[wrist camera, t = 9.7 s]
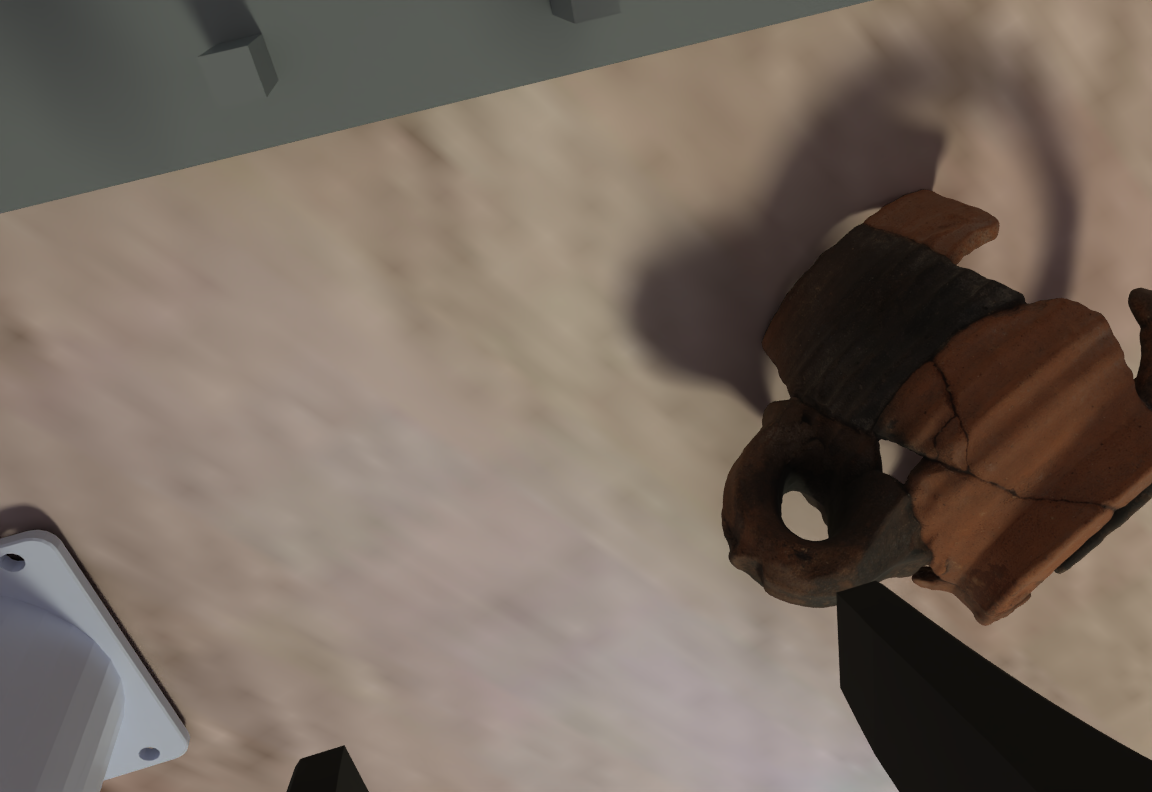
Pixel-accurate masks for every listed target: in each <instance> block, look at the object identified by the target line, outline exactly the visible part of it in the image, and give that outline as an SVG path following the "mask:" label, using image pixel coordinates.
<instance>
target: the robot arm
mask: <svg viewBox="0 0 1152 792" xmlns="http://www.w3.org/2000/svg"><path fill="white" fill-rule="evenodd" d="M12 553H13V554H16V555H20V556H21V557H22V558H23V559H24V560H23V561H17V560H13V559H11V558H10V557H8V556H7V554H12ZM836 599H837V621H838V644H839V667H840V688H841V690H842V692H843V694H844V696H845V698H846V700H847V702H848V704H849V706H850V708H851V710H852V712H853V714H854V716H855V718H856V720H857V722H858V724H859V725H860V727H861V729H862V731H863V733H864V735H865V737H866V739H867V741H868V742H869V744H870V746H871V748H872V750H873V752H874V754H875V755H876V757H877V758H878V760H879V762H880V763H881V765H882V766H883V768H884V769H885V771H886V772H887V774H888V775H889V777H890V778H891V780H892V781H893V783H894V784H895V786H896V787H897V789H898V790H899V792H1152V760H1150V759H1148V758H1146V757H1144V756H1143V755H1141V754H1139V753H1137V752H1135V751H1133V750H1132V749H1130V748H1128V747H1126V746H1125V745H1123V744H1121V743H1119V742H1117V741H1116V740H1114V739H1112V738H1111V737H1109V736H1107V735H1105V734H1104V733H1102V732H1100V731H1098V730H1097V729H1095V728H1093V727H1092V726H1090V725H1088V724H1087V723H1085V722H1083V721H1082V720H1080V719H1078V718H1077V717H1075V716H1074V715H1072V714H1070V713H1069V712H1067V711H1065V710H1064V709H1062V708H1060V707H1059V706H1057V705H1055V704H1054V703H1052V702H1051V701H1049V700H1048V699H1046V698H1044V697H1043V696H1041V695H1040V694H1038V693H1036V692H1035V691H1033V690H1032V689H1030V688H1029V687H1027V686H1026V685H1024V684H1023V683H1021V682H1020V681H1018V680H1017V679H1015V678H1014V677H1012V676H1011V675H1009V674H1008V673H1006V672H1005V671H1003V670H1002V669H1000V668H999V667H997V666H996V665H994V664H993V663H991V662H990V661H988V660H987V659H985V658H984V657H982V656H981V655H979V654H978V653H976V652H975V651H974V650H972V649H971V648H969V647H968V646H966V645H965V644H964V643H962V642H961V641H959V640H958V639H956V638H955V637H954V636H952V635H951V634H949V633H948V632H947V631H945V630H944V629H942V628H941V627H940V626H938V625H937V624H936V623H934V622H933V621H931V620H930V619H929V618H927V617H926V616H925V615H923V614H922V613H920V612H919V611H918V610H916V609H915V608H914V607H912V606H911V605H910V604H908V603H907V602H906V601H904V600H903V599H902V598H900V597H899V596H898V595H896V594H895V593H893V592H892V591H891V590H889V589H888V588H887V587H885V586H884V585H883V584H881V583H879V582H877V581H872V582H869V583H866V584H863V585H859V586H856V587H853V588H850V589H847V590H843V591H840V592H837V593H836ZM189 740H190V735H189V732H188V731H187V729H186V728H185V726H184V725H183V723H182V722H181V720H180V719H179V717H178V716H177V714H176V713H175V711H174V710H173V708H172V706H171V705H170V703H169V702H168V700H167V699H166V697H165V696H164V694H163V693H162V691H161V690H160V688H159V687H158V685H157V684H156V682H155V681H154V679H153V678H152V676H151V675H150V673H149V672H148V670H147V669H146V667H145V666H144V664H143V663H142V661H141V660H140V658H139V657H138V655H137V654H136V652H135V651H134V649H133V648H132V646H131V645H130V643H129V642H128V640H127V639H126V637H125V636H124V634H123V633H122V631H121V630H120V628H119V627H118V625H117V624H116V622H115V621H114V619H113V618H112V616H111V615H110V613H109V612H108V610H107V609H106V607H105V606H104V604H103V603H102V601H101V600H100V598H99V597H98V595H97V594H96V592H95V591H94V589H93V588H92V586H91V585H90V583H89V582H88V580H87V579H86V577H85V576H84V574H83V573H82V571H81V570H80V568H79V567H78V565H77V564H76V562H75V561H74V559H73V558H72V556H71V555H70V553H69V552H68V550H67V549H66V547H65V546H64V544H63V543H62V541H61V540H60V539H59V538H58V537H57V536H56V535H54V534H52V533H50V532H48V531H43V530H30V531H26V532H22V533H18V534H15V535H11V536H8V537H4V538H0V792H100V790H101V787H102V783H103V781H104V780H107V779H110V778H114V777H117V776H120V775H123V774H127V773H130V772H133V771H136V770H140V769H143V768H146V767H149V766H153V765H156V764H159V763H163V762H166V761H169V760H172V759H175V758H178V757H180V756H182V755H183V754H184V753H185V752H186V751H187V748H188V745H189ZM147 747H152V748H153V749H151V748H147ZM287 792H369V791H368V789H367V787H366V786H365V784H364V782H363V780H362V778H361V776H360V774H359V772H358V770H357V768H356V766H355V765H354V763H353V761H352V759H351V757H350V755H349V753H348V751H347V749H346V747H345V745H344V746H341V747H337V748H334V749H331V750H328V751H325V752H321V753H318V754H315V755H312V756H308V757H305V758H302V759H300V761H299V762H298V764H297V765H296V767H295V769H294V772H293V775H292V778H291V780H290V783H289V786H288V789H287Z"/></svg>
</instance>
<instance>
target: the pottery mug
mask: <svg viewBox="0 0 1152 792" xmlns="http://www.w3.org/2000/svg"><path fill="white" fill-rule="evenodd" d="M998 231H999V222H998V220H997V219H996V218H995V217H994V216H992V215H991V214H989V213H987V212H985V211H983V210H981V209H979V208H976V207H973V206H969V205H966V204H964V203H961V202H959V201H956V200H953V199H950V198H946V197H943V196H941V195H939V194H937V193H935V192H933V191H930V190H920V191H918V192H915V193H910V194H907V195H904V196H902V197H901V198H899V199H897V200H896V201H894V202H892V203H889V204H887V205H885V206H884V207H883V208H881V209H880V210H879V211H878V212H877V213H875V214H874V215H872V216H870V217H869V218H867V219H866V220H865V221H864V223H862V224H861V225H858V226H856V227H855V228H853V229H852V230H851V231H850V232H849V233H848V234H846V235H845V236H844V237H843V238H842V239H841V240H840V241H839V242H838V243H837V244H836V245H834V246H833V247H832V248H830V249H829V250H826V251H825V252H824V253H822V254H821V255H820V256H819V258H818V259H817V261H816V262H815V264H814V265H813V266H812V267H811V268H810V269H809V270H808V271H807V272H806V273H805V274H804V275H803V276H802V277H801V278H800V279H799V280H798V281H797V282H796V284H795V285H794V287H793V288H792V289H791V290H790V291H789V293H788V294H787V295H786V297H785V298H784V300H783V302H782V303H781V306H780V308H779V310H778V312H777V313H776V314H775V316H774V318H773V319H772V321H771V323H770V325H769V327H768V329H767V331H766V333H765V336H764V338H763V341H762V347H763V349H764V351H765V352H766V354H767V355H768V356H769V358H770V359H771V360H772V362H773V363H774V364H775V365H776V367H777V369H778V373H779V376H780V378H781V380H782V381H783V383H784V384H785V385H786V386H787V389H788V393H789V395H790V397H791V398H790V399H789V400H782V401H774V402H772V403H770V404H769V405H768V407H767V408H766V409H765V411H764V414H763V419H762V428H761V429H760V431H759V432H758V433H757V435H756V436H755V437H754V438H753V439H752V440H751V441H750V442H749V444H748V445H747V446H746V447H745V448H744V450H743V452H742V453H741V455H740V456H739V458H738V459H737V460H736V462H735V463H734V464H733V466H732V468H731V470H730V472H729V474H728V477H727V480H726V483H725V487H724V494H723V509H722V513H721V515H722V527H723V532H724V536H725V538H726V540H727V542H728V545H729V548H730V552H729V560H730V562H731V564H732V565H733V566H734V567H736V568H737V569H739V570H742V571H744V572H746V573H747V574H748V575H750V576H751V577H752V578H753V579H754V580H755V581H756V582H758V583H759V584H760V585H761V586H763V587H764V589H765V591H766V592H767V593H768V594H769V595H771V596H773V597H775V598H777V599H779V600H782V601H785V602H788V603H790V604H795V605H800V606H805V607H812V608H825V607H830V606H836V605H837V599H836V593H837V592H840V591H843V590H847V589H850V588H853V587H856V586H859V585H863V584H866V583H869V582H872V581H877V582H880V581H882V580H884V579H887V578H893V577H898V578H902V577H909V576H912V581H913V582H914V583H915V584H917V585H918V586H920V587H923V588H928V589H931V590H942V591H946V592H950V593H952V594H954V595H955V596H956V597H957V598H958V599H959V600H960V601H961V602H962V603H963V604H964V605H966V606H967V607H968V608H969V609H970V610H971V611H972V613H973V614H974V617H975V619H976V620H977V622H979V623H980V624H981V625H984V626H987V625H989V624H991V623H993V622H994V621H997V620H999V619H1000V618H1004V617H1006V616H1008V615H1009V614H1011V613H1012V612H1013V611H1014V610H1015V609H1016V608H1017V607H1019V606H1021V605H1023V604H1024V603H1025V602H1026V601H1028V600H1029V599H1030V597H1031V592H1032V591H1033V590H1034V589H1035V588H1036V587H1037V586H1038V585H1039V584H1040V583H1042V582H1043V581H1044V580H1045V579H1046V578H1047V577H1048V576H1049V575H1050V574H1051V573H1052V572H1053V571H1055V572H1056V573H1058V574H1061V573H1063V572H1065V571H1066V570H1068V569H1069V568H1071V567H1072V566H1073V565H1074V564H1075V563H1077V562H1078V561H1080V560H1081V559H1082V558H1083V557H1084V556H1085V555H1087V554H1088V553H1089V552H1090V551H1091V550H1092V549H1094V548H1095V547H1096V546H1098V545H1099V544H1100V543H1101V542H1102V541H1103V539H1104V538H1105V537H1106V536H1107V535H1108V534H1110V533H1111V532H1112V531H1114V530H1115V529H1117V528H1118V527H1120V526H1121V525H1122V524H1123V523H1125V522H1126V521H1127V520H1128V519H1129V518H1130V517H1131V516H1132V515H1133V514H1134V513H1135V512H1136V511H1138V510H1139V509H1140V508H1141V507H1142V506H1144V505H1145V504H1146V503H1147V502H1148V501H1149V500H1150V499H1151V498H1152V290H1148V289H1144V288H1137V289H1133V290H1132V291H1131V292H1130V295H1129V298H1128V304H1129V307H1130V310H1131V312H1132V313H1133V315H1134V317H1135V319H1136V321H1137V322H1138V324H1139V325H1140V328H1141V330H1140V344H1141V361H1140V366H1139V370H1138V374H1137V377H1136V378H1135V379H1133V373H1132V371H1131V369H1130V368H1129V367H1128V366H1127V364H1126V362H1125V360H1124V352H1123V350H1122V349H1121V347H1120V344H1119V342H1118V341H1117V339H1116V338H1115V336H1114V335H1113V333H1112V330H1111V328H1110V326H1109V324H1108V322H1107V320H1106V319H1105V317H1104V316H1103V315H1102V314H1101V313H1099V312H1096V311H1092V310H1090V309H1088V308H1087V307H1086V306H1084V305H1082V304H1080V303H1079V302H1075V301H1071V300H1068V299H1064V298H1056V299H1050V300H1043V301H1037V302H1035V303H1031V304H1027V303H1026V302H1025V298H1024V296H1023V294H1021V293H1019V292H1017V291H1015V290H1012V289H1011V288H1009V287H1007V286H1005V285H1004V284H1001V283H999V282H997V281H995V280H991V279H987V278H985V277H983V276H981V275H980V274H978V273H976V272H975V271H973V270H970V269H967V268H962V267H959V266H956V264H958V263H959V262H960V261H961V259H962V258H963V257H964V256H965V255H968V254H970V253H971V252H972V251H973V250H974V249H977V248H979V247H980V246H981V245H983V244H985V243H987V242H989V241H992V240H994V239H995V238H996V237H997V235H998ZM880 439H883V440H889V441H891V442H895V443H897V444H899V445H901V446H903V447H905V448H907V449H909V450H911V451H914V452H915V453H916V454H918V455H921V456H924V457H923V458H922V460H921V462H920V463H919V464H918V465H917V466H916V467H915V468H914V469H913V470H912V471H911V472H910V474H909V476H908V479H907V481H906V483H905V484H902V483H901V482H899V481H898V480H897V479H895V478H894V477H892V476H890V475H888V474H885V473H883V471H882V460H881V455H880V450H879V449H880V444H879V440H880ZM790 491H798V492H801V493H802V495H803V496H804V497H805V498H806V500H807V501H808V503H809V504H811V505H812V506H814V507H816V508H817V509H818V510H819V511H820V512H821V514H822V518H823V520H824V523H825V524H826V525H827V526H828V536H829V538H828V539H825V540H822V541H810V540H805V539H802V538H800V537H799V536H797V535H796V534H794V533H792V532H791V531H790V530H789V529H788V528H787V527H786V525H785V524H784V522H783V520H782V517H781V515H782V513H781V504H782V498H783V495H784V494H785V493H787V492H790ZM925 565H929V566H930V567H927V566H925Z"/></svg>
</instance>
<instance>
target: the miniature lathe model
mask: <svg viewBox="0 0 1152 792" xmlns="http://www.w3.org/2000/svg"><path fill="white" fill-rule="evenodd" d="M867 1H872V0H0V213H4V212H8V211H12V210H17V209H21V208H25V207H29V206H33V205H37V204H41V203H45V202H49V201H53V200H57V199H62V198H66V197H70V196H74V195H78V194H82V193H86V192H90V191H94V190H98V189H102V188H107V187H111V186H115V185H119V184H123V183H127V182H131V181H135V180H139V179H143V178H147V177H152V176H156V175H160V174H164V173H168V172H172V171H176V170H180V169H184V168H188V167H192V166H197V165H201V164H205V163H209V162H213V161H217V160H221V159H225V158H229V157H233V156H237V155H242V154H246V153H250V152H254V151H258V150H262V149H266V148H270V147H274V146H278V145H282V144H287V143H291V142H295V141H299V140H303V139H307V138H311V137H315V136H319V135H323V134H327V133H332V132H336V131H340V130H344V129H348V128H352V127H356V126H360V125H364V124H368V123H372V122H377V121H381V120H385V119H389V118H393V117H397V116H401V115H405V114H409V113H413V112H417V111H422V110H426V109H430V108H434V107H438V106H442V105H446V104H450V103H454V102H458V101H462V100H467V99H471V98H475V97H479V96H483V95H487V94H491V93H495V92H499V91H503V90H507V89H512V88H516V87H520V86H524V85H528V84H532V83H536V82H540V81H544V80H548V79H552V78H557V77H561V76H565V75H569V74H573V73H577V72H581V71H585V70H589V69H593V68H597V67H602V66H606V65H610V64H614V63H618V62H622V61H626V60H630V59H634V58H638V57H642V56H647V55H651V54H655V53H659V52H663V51H667V50H671V49H675V48H679V47H683V46H687V45H692V44H696V43H700V42H704V41H708V40H712V39H716V38H720V37H724V36H728V35H732V34H737V33H741V32H745V31H749V30H753V29H757V28H761V27H765V26H769V25H773V24H777V23H782V22H786V21H790V20H794V19H798V18H802V17H806V16H810V15H814V14H818V13H822V12H827V11H831V10H835V9H839V8H843V7H847V6H851V5H855V4H859V3H863V2H867Z"/></svg>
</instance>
